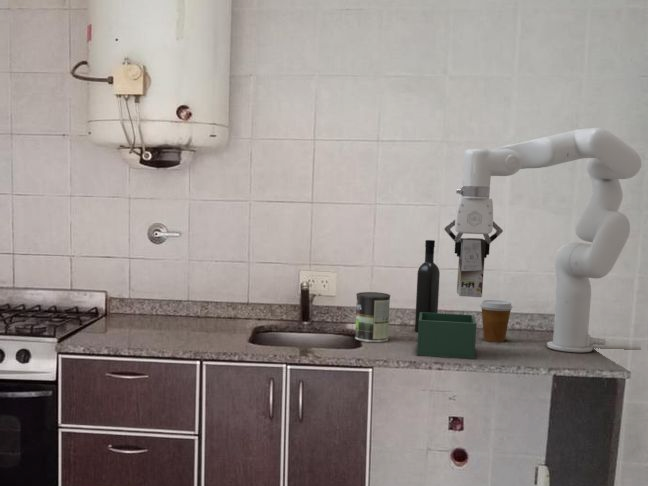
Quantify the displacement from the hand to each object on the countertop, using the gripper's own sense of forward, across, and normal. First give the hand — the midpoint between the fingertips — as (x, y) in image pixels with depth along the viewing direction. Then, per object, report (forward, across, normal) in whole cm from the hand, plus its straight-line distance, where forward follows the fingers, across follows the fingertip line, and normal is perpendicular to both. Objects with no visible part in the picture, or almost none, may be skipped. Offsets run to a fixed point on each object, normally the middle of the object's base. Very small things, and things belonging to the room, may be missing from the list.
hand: (471, 256), depth 231 cm
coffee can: (+28, -27, +12) cm, 41 cm away
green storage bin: (+28, -6, 0) cm, 29 cm away
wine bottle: (+28, -11, +32) cm, 44 cm away
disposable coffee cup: (+28, +10, +24) cm, 38 cm away
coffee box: (+11, 0, 0) cm, 11 cm away
